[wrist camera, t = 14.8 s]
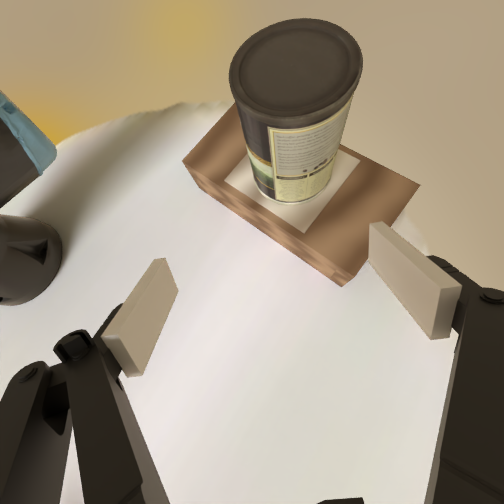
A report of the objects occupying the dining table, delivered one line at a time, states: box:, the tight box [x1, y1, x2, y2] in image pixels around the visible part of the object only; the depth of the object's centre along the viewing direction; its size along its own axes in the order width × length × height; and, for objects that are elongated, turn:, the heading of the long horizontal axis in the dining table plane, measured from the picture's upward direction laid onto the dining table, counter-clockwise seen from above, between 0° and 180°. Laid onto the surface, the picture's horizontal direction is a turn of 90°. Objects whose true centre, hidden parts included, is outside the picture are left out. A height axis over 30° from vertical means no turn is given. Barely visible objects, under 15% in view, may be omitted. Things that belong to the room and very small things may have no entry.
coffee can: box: [229, 18, 363, 205], centre depth 26 cm, size 10×10×14 cm
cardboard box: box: [182, 102, 420, 287], centre depth 37 cm, size 28×14×8 cm, turn 52°
